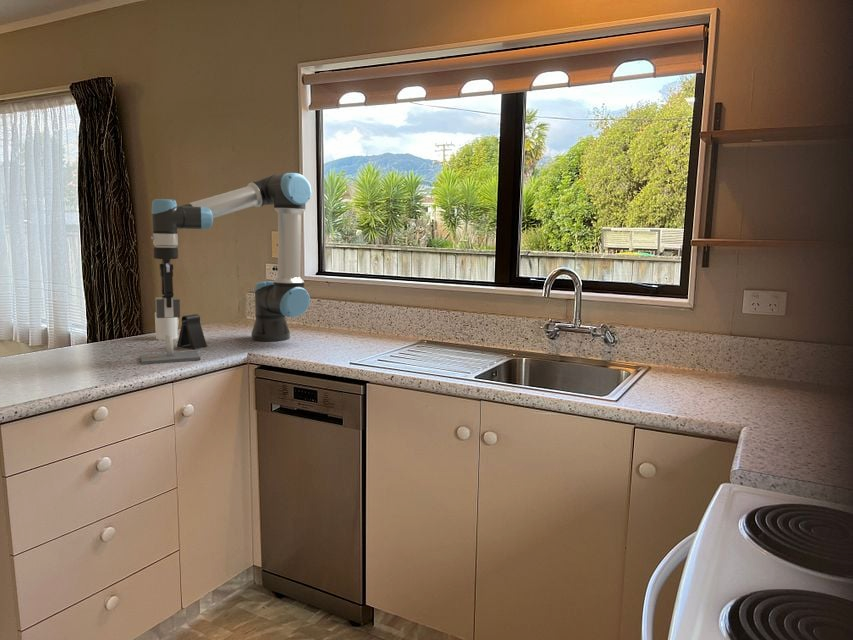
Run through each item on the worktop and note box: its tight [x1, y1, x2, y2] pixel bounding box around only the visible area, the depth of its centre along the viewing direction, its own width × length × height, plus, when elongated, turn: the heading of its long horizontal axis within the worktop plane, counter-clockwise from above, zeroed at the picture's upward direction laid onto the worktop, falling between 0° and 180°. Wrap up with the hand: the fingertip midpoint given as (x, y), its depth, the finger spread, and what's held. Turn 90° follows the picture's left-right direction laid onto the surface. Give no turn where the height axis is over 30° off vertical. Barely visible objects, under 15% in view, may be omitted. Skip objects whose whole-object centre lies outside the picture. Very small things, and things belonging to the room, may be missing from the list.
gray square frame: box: [154, 296, 181, 318], centre depth 210 cm, size 7×7×6 cm
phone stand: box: [176, 313, 208, 351], centre depth 233 cm, size 9×6×12 cm, turn 63°
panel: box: [139, 335, 201, 365], centre depth 212 cm, size 18×12×8 cm, turn 116°
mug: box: [154, 311, 180, 341], centre depth 252 cm, size 12×8×10 cm, turn 175°
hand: (168, 315), depth 211 cm, fingers closed on gray square frame, 7 cm apart
